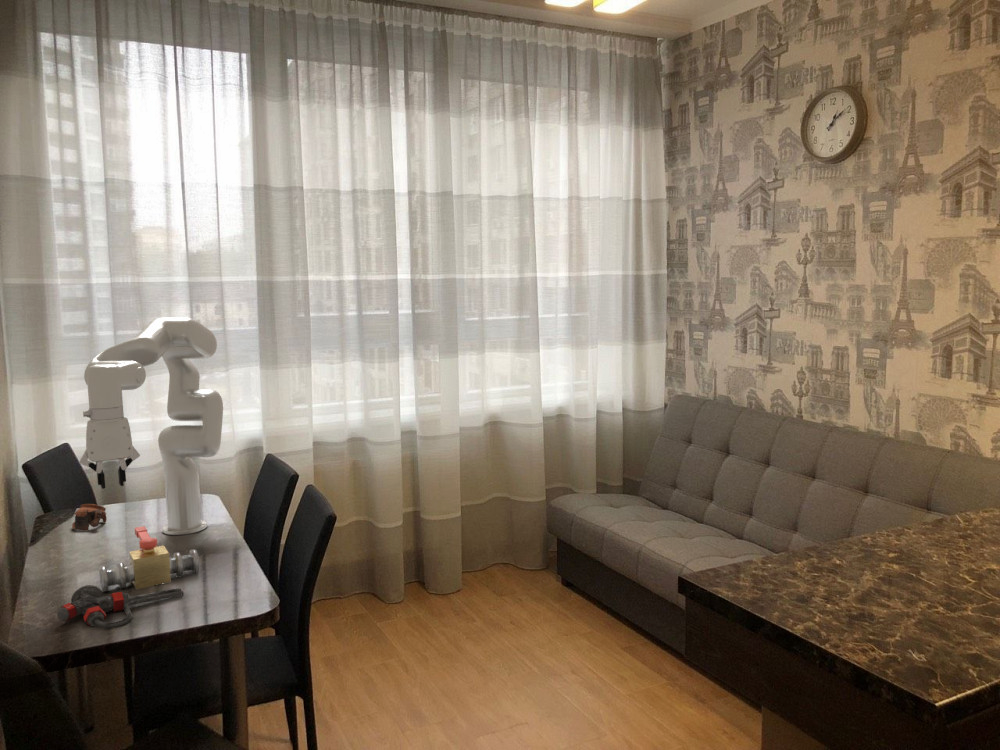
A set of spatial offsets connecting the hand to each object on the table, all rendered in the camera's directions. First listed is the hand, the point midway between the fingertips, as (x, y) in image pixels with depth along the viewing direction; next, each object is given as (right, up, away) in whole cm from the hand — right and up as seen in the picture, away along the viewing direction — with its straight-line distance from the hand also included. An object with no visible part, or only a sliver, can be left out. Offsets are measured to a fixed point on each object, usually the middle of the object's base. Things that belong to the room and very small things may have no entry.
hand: (112, 485), depth 199 cm
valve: (+13, -26, -21) cm, 36 cm away
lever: (+8, -14, +1) cm, 16 cm away
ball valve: (+11, -23, -3) cm, 26 cm away
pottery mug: (-28, -19, +45) cm, 56 cm away
